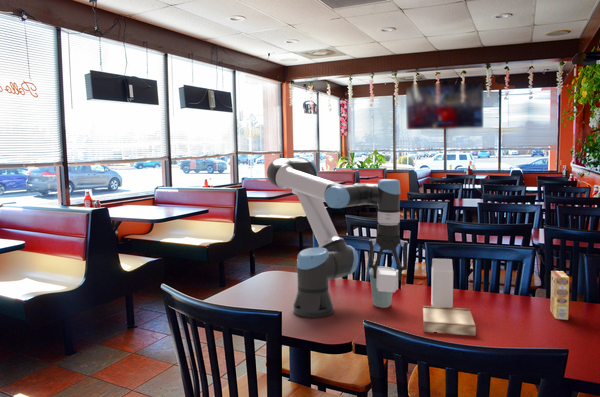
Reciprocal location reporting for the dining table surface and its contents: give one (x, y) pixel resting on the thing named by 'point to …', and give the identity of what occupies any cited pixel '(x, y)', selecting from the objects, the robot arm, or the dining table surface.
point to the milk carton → (442, 283)
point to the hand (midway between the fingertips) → (387, 287)
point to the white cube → (387, 281)
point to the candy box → (559, 295)
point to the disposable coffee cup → (380, 297)
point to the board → (448, 320)
